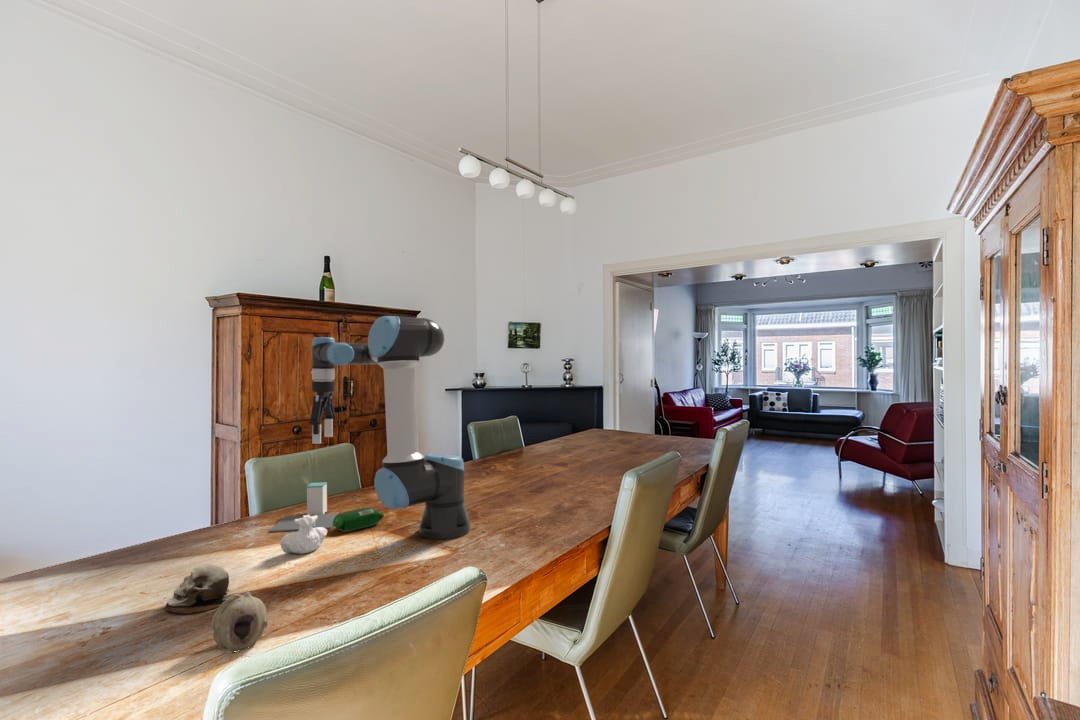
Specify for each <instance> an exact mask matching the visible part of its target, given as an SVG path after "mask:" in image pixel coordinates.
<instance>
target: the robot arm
mask: <svg viewBox="0 0 1080 720" xmlns="http://www.w3.org/2000/svg"><path fill="white" fill-rule="evenodd" d="M444 343H445V334H444V331H443V329H442V327H441V326H440V325H439V324H438V323H437V322H435V321H434V320H432V319H430V318H425V317H413V316H412V317H410V316H403V315H402V316H400V315H383V316H379V317H378V318H377V319H376V320H375V321H374V322H373V324H372V325H371V326H370V330H369V333H368V337H367V343H359V342H358V343H357V342H355V343H354V342H336V339H335V338H334V337H325V336H324V337H323V336H320V337H318V336H317V337H316V336H315V337H312V343H311V371H310V374H311V380H313V381H312V382H311V391H312V392H313V393H316V395H313V399H312V400H313V401H312V407H311V408H312V409H311V413H310V420H309V425H310V426H312V427H311V429H312V431H311V436H312V437H311V440H312V441H311V443H312V444H315V445H317V444H318V445H320V444H322V423H321V421H322V417H323V414H324V430H323V431H324V432H323V433H324V435H323V436H324V437H325V438H329V437H330V438H333V436H334V435H333V431H334V430H333V429H334V427H333V424H334V423H333V422H334V419H336V414H335V409H334V407H335V406H334V401H333V393H332V392H335V386H336V385H335V384H336V382H335V381H334V380H335V379H336V370H335V369H336V366H345V365H346V366H347V365H352V366H353V365H376V366H379V367H381V368H382V370H383V383H384V384H383V385H384V386H383V387H384V405H385V406H384V409H385V427H386V428H385V430H386V447H387V454H386V456H385V457H384V458H383V459H382V461H381V465H382V467H381V468H379V469H378V470H377V471H376V473H375V476H374V490H375V493H376V495H377V498H378V500H379V501H380V502H381V504H382V505H383V506H384V507H385V508H386V509H389V510H398V509H399V510H400V509H406V508H408V507H412V506H416V505H420V504H423V503H424V510H423V512H422V516H421V520H420V522H419V526H418V527H419V529H418V531H419V535H420V536H421V537H423V538H426V539H431V540H449V539H454V538H459V537H461V536H462V537H463V536H465V535H467V533H469V532H470V530H471V522H470V518H469V515H468V511H467V510H466V509H467V508H466V506H465V465H464V459H463V458H462V457H461V456H459V455H455V454H447V453H446V454H445V453H428V454H425V455H424V454H422V453H421V452H420V448H419V431H418V428H419V427H418V413H417V412H418V411H417V410H418V408H417V395H416V394H417V391H416V388H417V387H416V373H415V372H416V371H415V368H416V366H418V365H419V363H420V358H422V357H423V358H424V357H430V356H433V355H435V354H437V353H439V352H440V350H442V349H443V346H444Z"/></svg>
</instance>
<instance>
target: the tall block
mask: <svg viewBox="0 0 1080 720" xmlns="http://www.w3.org/2000/svg"><path fill="white" fill-rule="evenodd" d="M327 488H328V482H327V481H324V482H322V481H321V482H311V483H309V484H308V485H307V486H306V515H308V514H309V515H316V514H326V513H327V511H328V489H327ZM325 512H326V513H325Z"/></svg>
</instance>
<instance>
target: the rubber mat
mask: <svg viewBox="0 0 1080 720" xmlns="http://www.w3.org/2000/svg"><path fill="white" fill-rule="evenodd" d="M340 513H341V512H339V513H325V514H316V515H317V516H318V517H317V519H316V520H315V526H312V528H316V527H324V528H325V529H327V530H332V528H333V527H334V526H333V521H334V518H335V516H336V515H338V514H340ZM303 515H304V514H300V515H299V514H298V515H285V516H284V517H283V518H282V519H280V520H279V521H278V522H277V523H276V524H274V526H273V527H271V528H270V529H269V530H268V533H281V532H283V533H284V532H297V531H299V527H300V524H298V523H296V522H295V521H294V520H295V519H299V518H303ZM310 516H314V515H310Z"/></svg>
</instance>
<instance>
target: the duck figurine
mask: <svg viewBox="0 0 1080 720" xmlns="http://www.w3.org/2000/svg"><path fill="white" fill-rule="evenodd" d="M302 515H303V518H299V519H295V520H294V521H295V522H296V523H298V524H300V527H299V531H292V532H290V533H287V534H285V535H284V536H282V537H281V539H280V543H279V544H280V548H281V550H282V552H284V553H286V554H287V553H288V554H289V553H294V554H300V555H302V554H308V553H311V552H313V551H316V549H318V548H319V547H320V546H321V545H322V544H323V543H324V541H325V538H326V537H327V534H328V529H325V528H324V527H316V528H312V526H315V520H316V519H317V517H318V516H317V515H314V516H310V515H309V514H308V515H307V514H302Z"/></svg>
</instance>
